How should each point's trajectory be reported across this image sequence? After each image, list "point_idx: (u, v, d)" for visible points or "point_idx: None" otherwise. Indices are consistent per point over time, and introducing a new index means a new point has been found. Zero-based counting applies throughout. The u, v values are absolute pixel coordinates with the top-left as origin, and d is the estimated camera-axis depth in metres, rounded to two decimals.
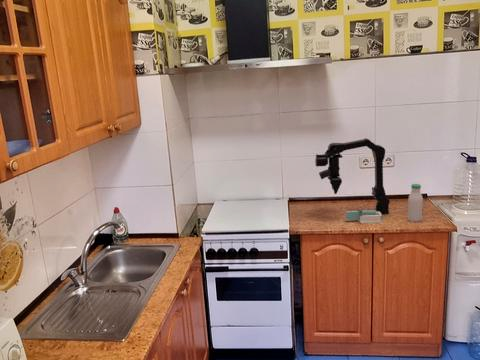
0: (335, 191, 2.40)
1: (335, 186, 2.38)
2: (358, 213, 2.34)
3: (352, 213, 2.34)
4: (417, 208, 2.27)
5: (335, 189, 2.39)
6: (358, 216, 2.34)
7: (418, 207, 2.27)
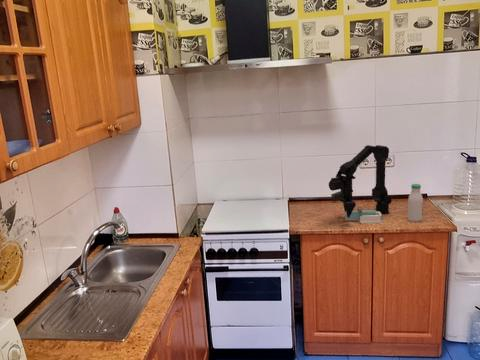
0: (348, 214, 2.30)
1: (348, 209, 2.29)
2: (358, 213, 2.34)
3: (352, 213, 2.34)
4: (417, 208, 2.27)
5: (348, 212, 2.30)
6: (358, 216, 2.34)
7: (418, 207, 2.27)
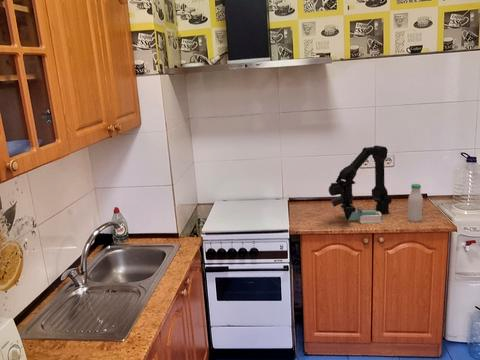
0: (347, 217, 2.34)
1: (347, 212, 2.33)
2: (358, 213, 2.34)
3: (352, 213, 2.34)
4: (417, 208, 2.27)
5: (347, 215, 2.33)
6: (358, 216, 2.34)
7: (418, 207, 2.27)
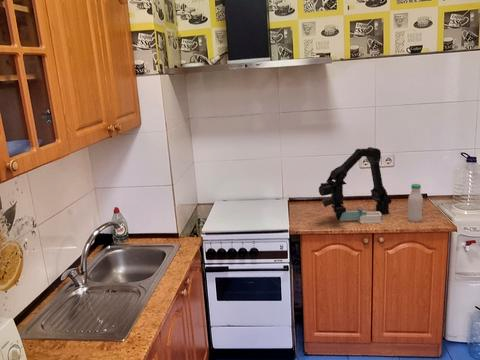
0: (338, 217, 2.35)
1: (338, 212, 2.33)
2: (349, 213, 2.34)
3: (343, 213, 2.35)
4: (417, 208, 2.27)
5: (338, 215, 2.34)
6: (349, 216, 2.35)
7: (418, 207, 2.27)
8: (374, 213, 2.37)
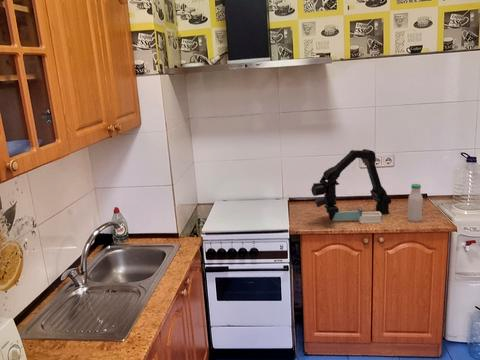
0: (331, 218, 2.35)
1: (331, 213, 2.34)
2: (342, 214, 2.35)
3: (336, 214, 2.35)
4: (417, 208, 2.27)
5: (331, 216, 2.34)
6: (342, 217, 2.35)
7: (418, 207, 2.27)
8: (374, 213, 2.37)
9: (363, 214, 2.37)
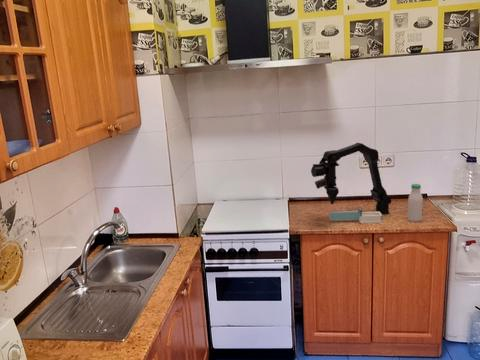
0: (331, 201, 2.30)
1: (332, 196, 2.28)
2: (342, 214, 2.35)
3: (336, 214, 2.35)
4: (417, 208, 2.27)
5: (332, 199, 2.29)
6: (342, 217, 2.35)
7: (418, 207, 2.27)
8: (374, 213, 2.37)
9: (363, 214, 2.37)
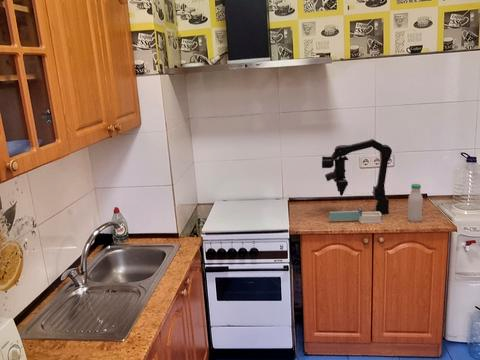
0: (341, 193, 2.43)
1: (341, 188, 2.42)
2: (342, 214, 2.35)
3: (336, 214, 2.35)
4: (417, 208, 2.27)
5: (341, 191, 2.42)
6: (342, 217, 2.35)
7: (418, 207, 2.27)
8: (374, 213, 2.37)
9: (363, 214, 2.37)
